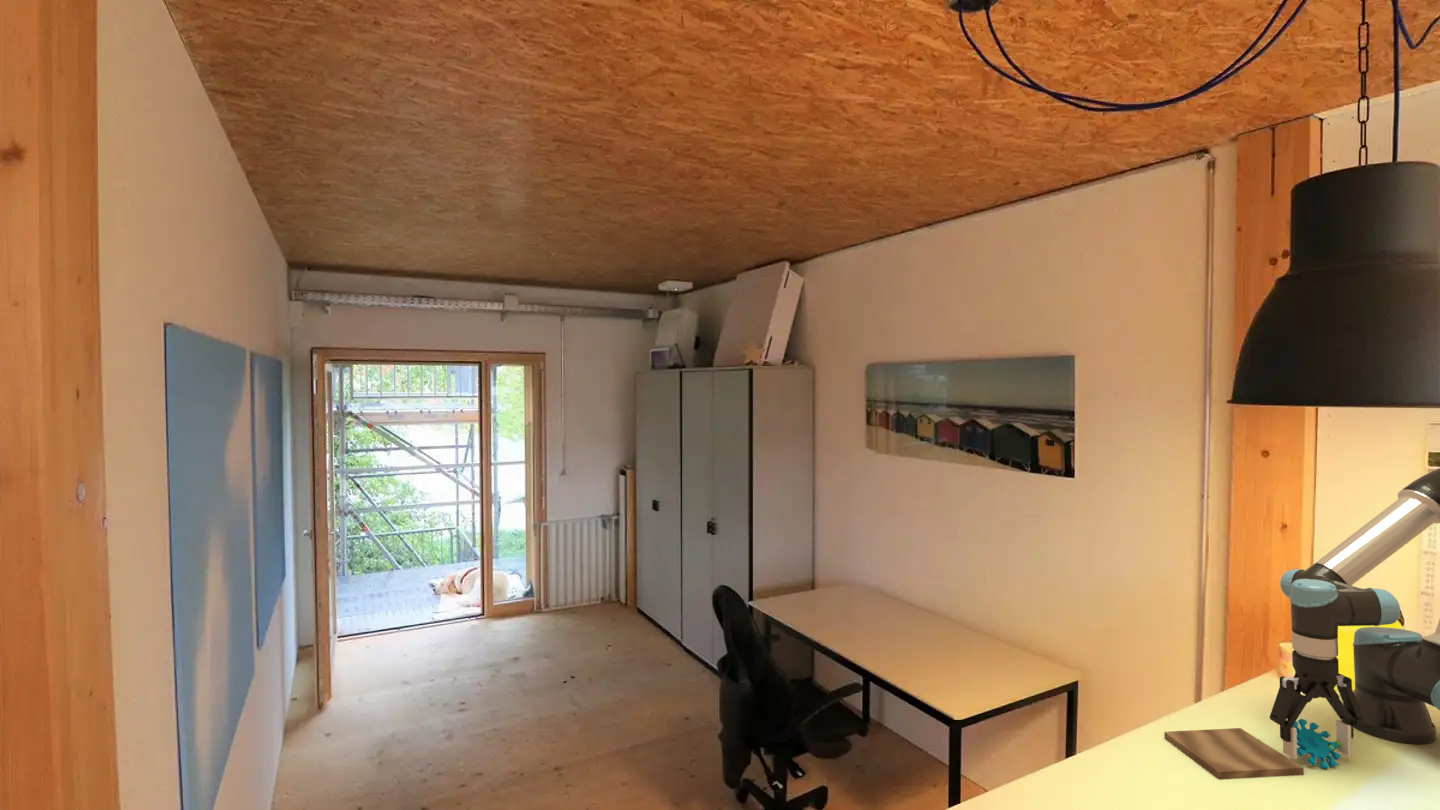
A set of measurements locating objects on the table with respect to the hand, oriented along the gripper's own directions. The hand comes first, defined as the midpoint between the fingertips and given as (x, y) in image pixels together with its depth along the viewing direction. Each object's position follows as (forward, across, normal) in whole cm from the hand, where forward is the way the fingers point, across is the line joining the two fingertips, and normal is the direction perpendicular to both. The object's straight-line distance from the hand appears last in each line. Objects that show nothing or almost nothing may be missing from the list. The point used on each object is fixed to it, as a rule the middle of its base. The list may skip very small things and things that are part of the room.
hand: (1317, 754), depth 148 cm
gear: (+2, 0, 0) cm, 2 cm away
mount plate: (+2, +16, -4) cm, 17 cm away
